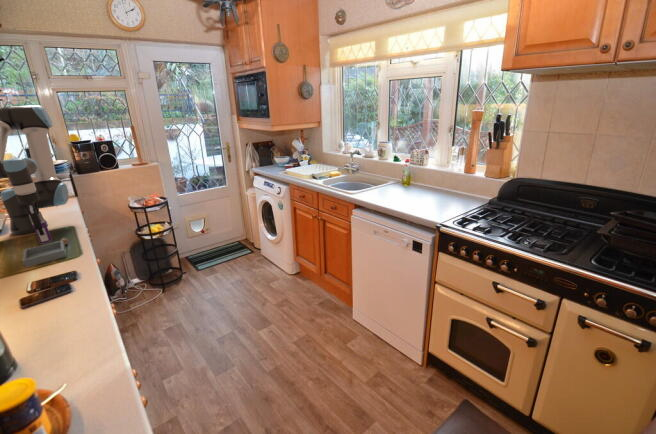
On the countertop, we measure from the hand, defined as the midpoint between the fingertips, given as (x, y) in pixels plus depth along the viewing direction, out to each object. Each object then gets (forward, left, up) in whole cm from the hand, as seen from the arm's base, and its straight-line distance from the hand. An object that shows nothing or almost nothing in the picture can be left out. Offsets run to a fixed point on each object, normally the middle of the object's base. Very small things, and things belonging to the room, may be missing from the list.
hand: (45, 238), depth 159 cm
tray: (+18, 0, -2) cm, 18 cm away
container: (0, 0, -2) cm, 2 cm away
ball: (+9, +7, -2) cm, 12 cm away
